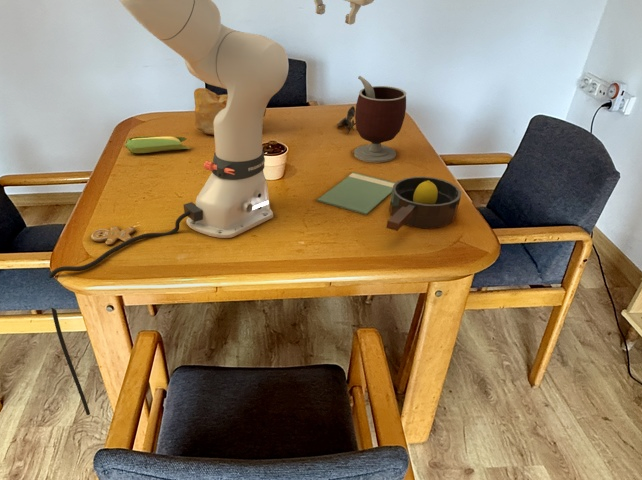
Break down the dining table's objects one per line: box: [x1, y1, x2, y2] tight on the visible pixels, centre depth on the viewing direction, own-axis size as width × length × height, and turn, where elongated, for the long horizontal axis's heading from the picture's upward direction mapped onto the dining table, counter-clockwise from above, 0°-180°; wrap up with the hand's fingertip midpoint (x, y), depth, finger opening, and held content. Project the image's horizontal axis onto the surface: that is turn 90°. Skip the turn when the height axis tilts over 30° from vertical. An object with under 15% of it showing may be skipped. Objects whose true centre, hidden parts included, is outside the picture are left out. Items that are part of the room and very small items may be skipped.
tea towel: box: [316, 172, 396, 216], centre depth 139 cm, size 20×14×1 cm
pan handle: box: [385, 204, 416, 232], centre depth 119 cm, size 12×3×2 cm, turn 145°
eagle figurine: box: [336, 106, 356, 135], centre depth 172 cm, size 8×7×9 cm
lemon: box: [413, 180, 438, 205], centre depth 127 cm, size 6×6×8 cm
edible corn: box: [124, 135, 191, 155], centre depth 162 cm, size 5×20×5 cm, turn 98°
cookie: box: [91, 225, 136, 246], centre depth 125 cm, size 8×1×10 cm
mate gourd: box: [353, 75, 407, 164], centre depth 152 cm, size 16×14×20 cm
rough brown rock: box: [193, 87, 267, 136], centre depth 173 cm, size 23×17×15 cm
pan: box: [388, 176, 462, 229], centre depth 128 cm, size 16×16×6 cm
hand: (334, 18), depth 123 cm, fingers open, 8 cm apart
